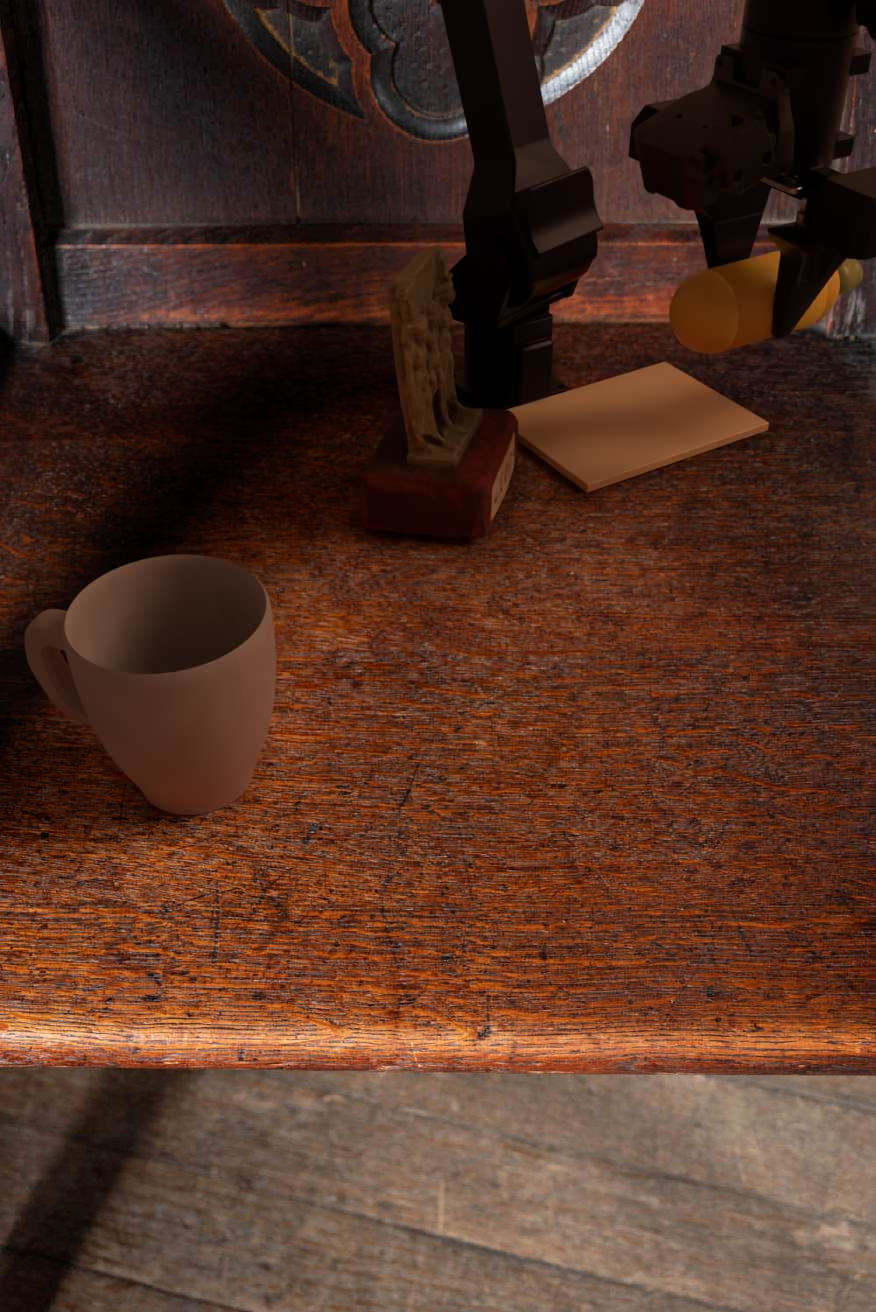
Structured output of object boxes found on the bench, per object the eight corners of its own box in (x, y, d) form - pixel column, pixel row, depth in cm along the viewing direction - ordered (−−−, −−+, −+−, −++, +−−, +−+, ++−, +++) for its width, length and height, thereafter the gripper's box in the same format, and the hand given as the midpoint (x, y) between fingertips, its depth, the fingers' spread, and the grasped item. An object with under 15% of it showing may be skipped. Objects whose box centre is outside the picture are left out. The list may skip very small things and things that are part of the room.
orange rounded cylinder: (822, 294, 78) (837, 221, 75) (877, 321, 75) (895, 246, 72) (648, 343, 73) (657, 266, 70) (699, 375, 70) (711, 296, 67)
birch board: (491, 421, 86) (491, 413, 86) (664, 368, 92) (665, 361, 91) (586, 493, 78) (587, 484, 78) (768, 430, 84) (769, 422, 84)
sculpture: (493, 551, 74) (497, 306, 64) (359, 536, 75) (344, 295, 66) (520, 467, 81) (527, 237, 72) (398, 455, 82) (390, 228, 73)
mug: (319, 732, 61) (303, 571, 55) (242, 862, 55) (214, 695, 49) (102, 686, 64) (64, 528, 58) (5, 804, 58) (-49, 639, 52)
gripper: (560, 8, 66) (544, 293, 76) (811, 98, 53) (753, 424, 63) (724, -16, 70) (689, 256, 80) (992, 61, 58) (911, 372, 68)
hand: (751, 320), depth 73 cm, fingers closed on orange rounded cylinder, 4 cm apart
